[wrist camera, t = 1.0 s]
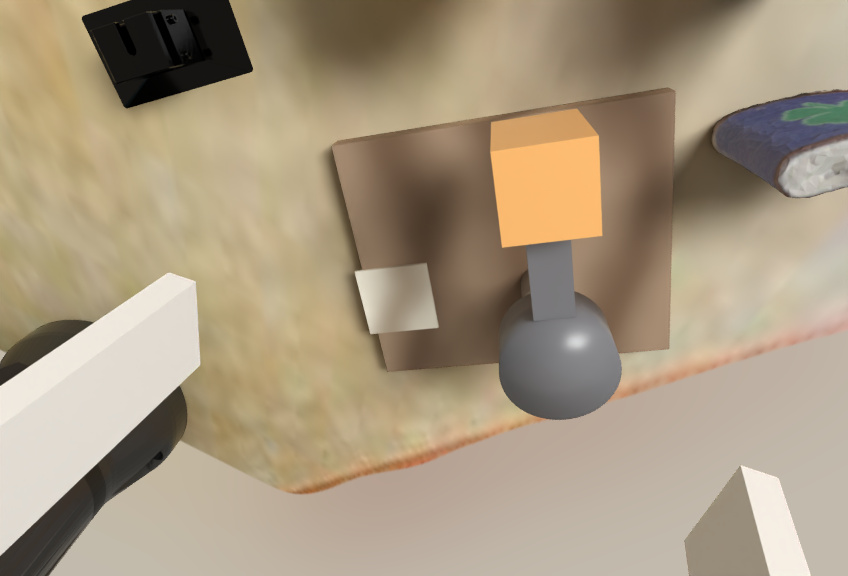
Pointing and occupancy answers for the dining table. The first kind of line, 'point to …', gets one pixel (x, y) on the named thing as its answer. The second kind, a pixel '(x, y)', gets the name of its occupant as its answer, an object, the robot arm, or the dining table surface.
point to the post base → (481, 241)
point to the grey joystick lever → (552, 265)
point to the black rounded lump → (167, 46)
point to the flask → (791, 142)
